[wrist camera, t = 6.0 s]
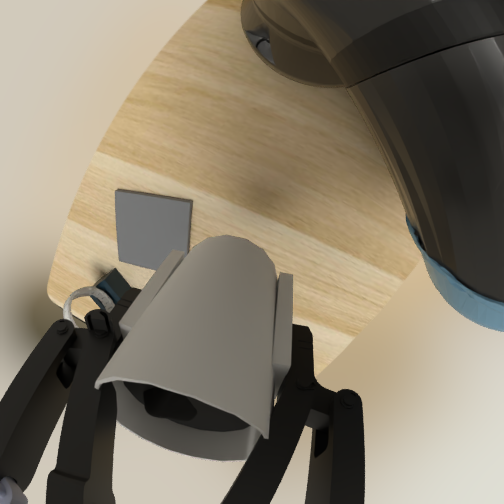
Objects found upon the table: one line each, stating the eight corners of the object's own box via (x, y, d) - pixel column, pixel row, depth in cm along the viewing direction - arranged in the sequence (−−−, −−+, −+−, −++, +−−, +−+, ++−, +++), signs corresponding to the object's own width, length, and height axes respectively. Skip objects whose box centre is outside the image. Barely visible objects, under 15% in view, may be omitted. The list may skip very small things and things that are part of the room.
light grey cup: (234, 333, 19) (200, 465, 10) (159, 273, 17) (78, 398, 8) (308, 282, 16) (313, 446, 7) (224, 203, 14) (131, 347, 6)
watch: (122, 310, 40) (89, 358, 30) (90, 272, 37) (49, 316, 28) (142, 299, 38) (107, 352, 29) (108, 258, 35) (63, 304, 26)
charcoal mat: (192, 200, 30) (190, 202, 29) (187, 274, 35) (186, 277, 34) (118, 189, 30) (114, 190, 29) (122, 258, 35) (119, 261, 34)
